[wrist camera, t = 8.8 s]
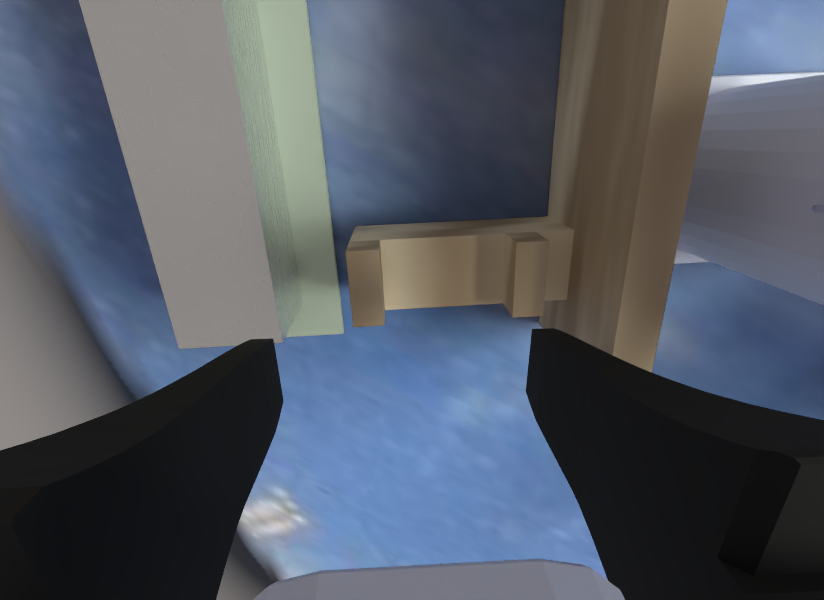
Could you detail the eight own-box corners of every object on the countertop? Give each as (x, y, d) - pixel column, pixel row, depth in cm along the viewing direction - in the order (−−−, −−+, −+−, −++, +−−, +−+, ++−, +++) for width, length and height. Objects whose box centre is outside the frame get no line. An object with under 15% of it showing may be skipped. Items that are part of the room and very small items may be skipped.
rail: (192, -418, 12) (99, -679, 8) (303, 303, 20) (282, 342, 16) (47, -417, 11) (-118, -682, 8) (218, 308, 20) (178, 348, 16)
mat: (249, -502, 11) (244, -524, 11) (344, 330, 21) (343, 333, 20) (-31, -502, 11) (-46, -525, 11) (194, 339, 21) (190, 342, 20)
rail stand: (658, -515, 12) (1003, -1351, 5) (567, 321, 21) (645, 402, 15) (285, -516, 11) (143, -1407, 5) (365, 333, 21) (354, 421, 14)
